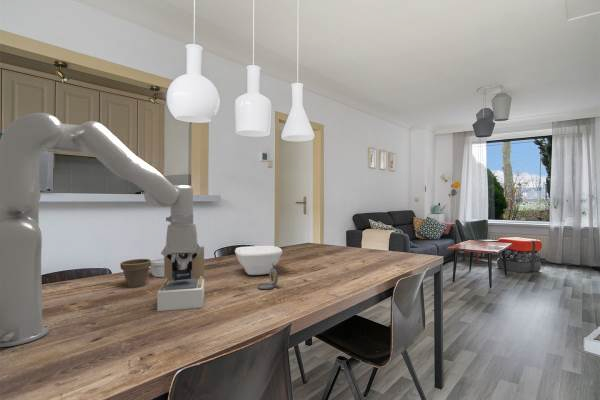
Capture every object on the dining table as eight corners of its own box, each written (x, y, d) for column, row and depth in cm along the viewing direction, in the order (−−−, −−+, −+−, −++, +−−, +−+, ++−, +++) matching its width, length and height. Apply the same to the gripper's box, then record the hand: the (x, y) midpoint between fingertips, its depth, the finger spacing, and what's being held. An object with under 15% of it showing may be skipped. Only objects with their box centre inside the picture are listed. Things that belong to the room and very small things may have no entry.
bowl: (237, 281, 144) (237, 254, 144) (233, 269, 165) (233, 246, 165) (286, 277, 150) (286, 252, 150) (276, 267, 171) (276, 244, 171)
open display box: (202, 307, 110) (202, 253, 110) (157, 311, 107) (156, 255, 106) (204, 293, 126) (204, 246, 125) (165, 296, 122) (164, 247, 122)
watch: (175, 282, 111) (175, 249, 111) (171, 276, 118) (171, 245, 118) (192, 280, 114) (192, 248, 114) (187, 274, 121) (187, 244, 121)
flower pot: (113, 287, 133) (113, 263, 133) (135, 280, 144) (135, 257, 144) (136, 290, 130) (136, 264, 130) (157, 282, 141) (157, 259, 141)
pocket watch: (253, 288, 132) (253, 263, 132) (265, 283, 139) (265, 260, 139) (271, 291, 128) (271, 266, 128) (282, 286, 135) (282, 262, 135)
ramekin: (166, 270, 165) (166, 256, 165) (186, 273, 159) (186, 258, 159) (143, 276, 153) (143, 261, 153) (164, 279, 147) (164, 263, 147)
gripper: (154, 221, 110) (154, 276, 110) (206, 220, 114) (206, 273, 114) (158, 220, 117) (158, 271, 117) (207, 219, 121) (207, 268, 122)
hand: (182, 271), depth 116 cm, fingers closed on watch, 3 cm apart
